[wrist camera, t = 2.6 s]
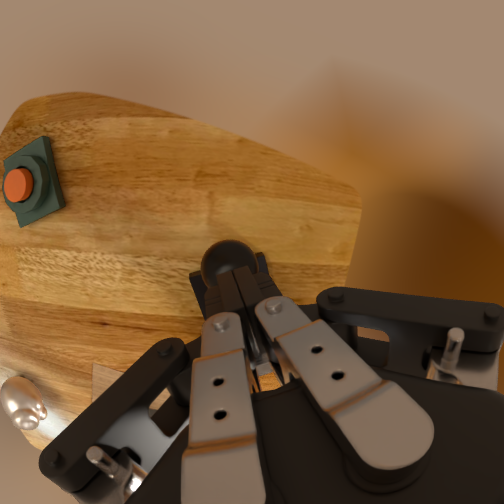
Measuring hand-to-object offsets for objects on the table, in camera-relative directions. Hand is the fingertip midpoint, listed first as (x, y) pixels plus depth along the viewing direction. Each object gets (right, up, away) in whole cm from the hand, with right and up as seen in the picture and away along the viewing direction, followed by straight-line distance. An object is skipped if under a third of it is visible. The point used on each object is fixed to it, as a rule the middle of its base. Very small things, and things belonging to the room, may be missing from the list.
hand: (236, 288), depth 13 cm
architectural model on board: (-14, -26, +26) cm, 39 cm away
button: (-25, +9, +9) cm, 28 cm away
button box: (-25, +10, +12) cm, 30 cm away
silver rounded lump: (-39, -22, +20) cm, 49 cm away
